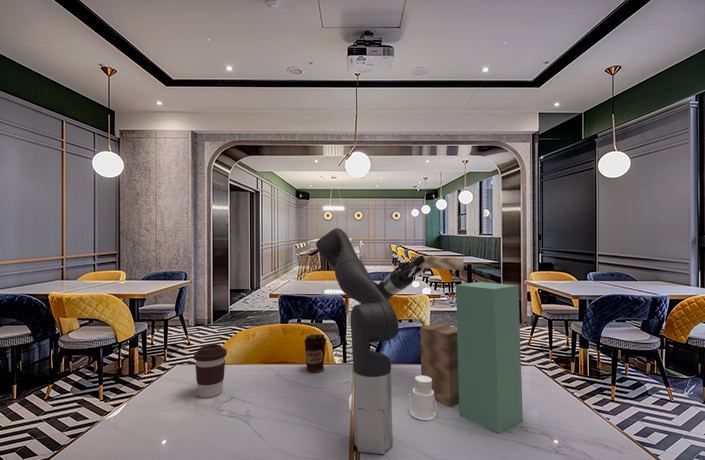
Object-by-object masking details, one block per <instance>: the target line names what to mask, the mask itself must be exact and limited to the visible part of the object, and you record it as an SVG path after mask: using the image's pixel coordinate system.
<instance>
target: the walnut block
mask: <svg viewBox="0 0 705 460" xmlns="http://www.w3.org/2000/svg"><path fill="white" fill-rule="evenodd" d="M419 329H420V333H419V334H420V376H421V375H422V376H428V377H430V378H431V379H432V390H433V391H434V397H435V401H436V402H439V403H441V404H444V405H445V406H448V407H449V408H452V407H454V406H456V405H459V377H458V340H457V327H454V326H450V325H446V324H441V323H437V322H436V323H433V324H427V325H422V326H420V327H419Z"/></svg>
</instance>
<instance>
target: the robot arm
mask: <svg viewBox="0 0 705 460" xmlns="http://www.w3.org/2000/svg"><path fill="white" fill-rule="evenodd" d="M350 240H351V239H350V238H349V236H348V235H347V234H346V232H345V231H344V230H343V229H341V228H339V227H338V228H337V227H336V228H334V229H332V230H330V231H329V232H327V233H326V234H324V235H323V236H322V237H319V239H318V240H317V241H316V243H315V245H316V249H317V251H318V252H319V254H320V255H321V257H322V258H323V259H324V260H325V261H326V262H327V263H328V264H329V265H330V266H331V267H333V268H334V274H335V275H334V276H335V279H336V281H337V284H338V285H339V287H340V289H341V291H342V292H343V293H344V294H345V295H346V296H348V297H349V298H350V299H352V300H354V301H356V302H357V303H359V304H355V305H353V307H352V309H351V312H350V335H351V349H352V350H351V352H352V355H351V356H352V362H353V364H352V365H353V366H352V368H353V369H352V371H353V372H352V374H353V427H354V428H353V429H354V431H353V433H354V434H353V435H354V440H353V441H354V445H355V447H356V449H357V452H359V453H367V454H368V453H369V454H377V455H384V454H385V452H386V451H388V450H390V448H391V447H392V446H393V443H394V442H393V440H394V439H393V438H394V437H393V400H392V399H393V397H392V361H391V358H390V356H388V355H386V354H384V353H382V352H378V351H374V350H371V349H370V343H378V342H379V343H380V342H387V341H391V340H393V339H395V338H396V336H398V332H399V319H398V317H397V314H396V311H395V309H394V307H393V306H392V304H391V303H390V302H389V300H390V299H391V298H392V297H393V296H395V295H396V294H399V293H400V292H402V291H403V290H405V289H406V288H408V287H409V286H410V285H411V284H412V283H413V282H414V279H415V277H416V276H418V275H419V274H420V273H422V274H425V273H427V271H428V270H429V269H430V268H421V267H417V266H419V265H420V264H422V263H423V262H424V261H425V259H424V256H425V255H418V256H419V257H418V258H417V259H416V260H413V261H411V260H410V261H409V260H408V261H406V262H404V263H402V264H400V265H399V266H397V267H395V268H394V270H392V271H391V272H390V273H388V274H387V276H385V278H383V279H382V280H381V281H380V282H379V283H377V282H375V281H374V280H373V279H372V277H371V276H370V273H369V272H368V270H367V269H366V266H365V264H363V262H362V261H361V259H360V258H359V256H358V254H357V253H356V251H355V249H354V247H353V245H352V242H351V241H350ZM427 257H433V256H432V254H430V255H428V256H427Z"/></svg>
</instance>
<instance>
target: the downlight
mask: <svg viewBox="0 0 705 460" xmlns="http://www.w3.org/2000/svg"><path fill="white" fill-rule="evenodd" d="M411 400H412V402H411ZM408 401H409V405H410V411H409V414H410V415H411V416H412V417H413V418H414V419H417V420H421V421H432V420H434V419H435V418H436V415H437V414H438V406H437V400H435V397H434V391H433V390H432V379H431V378H430V377H428V376H422V375H421V374H420V375H416V376H415V378H414V387H413V388H412V399H411V393H409V394H408ZM434 405H435V409H436V411H434Z"/></svg>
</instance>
